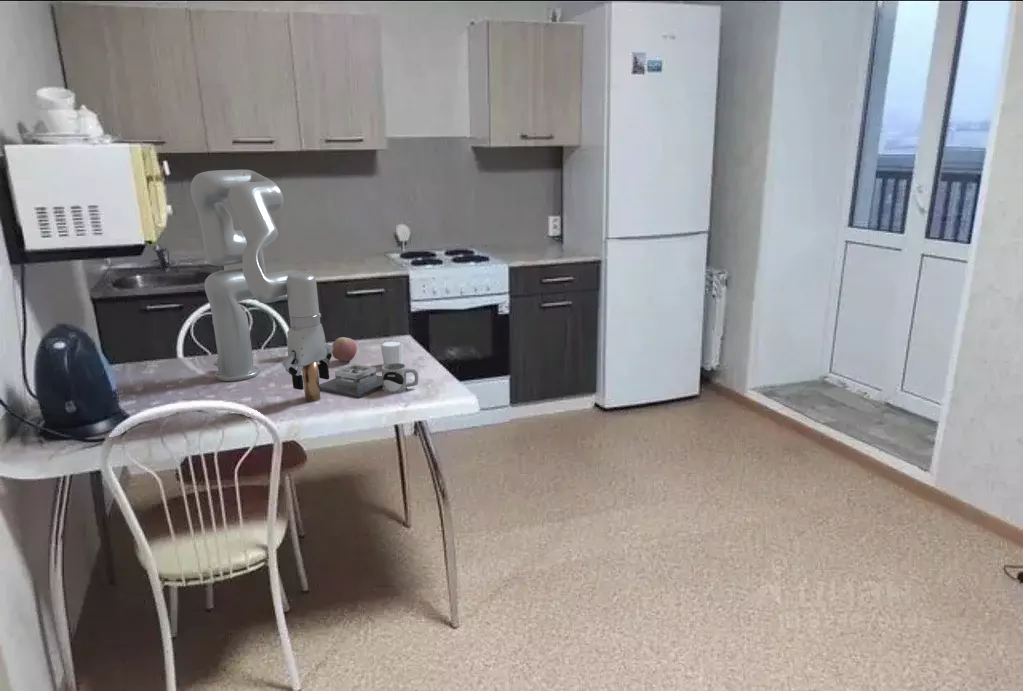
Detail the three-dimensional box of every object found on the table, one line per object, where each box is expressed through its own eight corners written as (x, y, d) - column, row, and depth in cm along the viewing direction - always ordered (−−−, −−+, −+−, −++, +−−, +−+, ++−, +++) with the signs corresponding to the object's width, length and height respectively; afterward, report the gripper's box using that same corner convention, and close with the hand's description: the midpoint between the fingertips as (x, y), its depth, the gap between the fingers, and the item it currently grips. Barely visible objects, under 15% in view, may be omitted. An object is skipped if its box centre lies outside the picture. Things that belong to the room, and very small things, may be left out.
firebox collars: (316, 389, 199) (315, 372, 198) (353, 374, 212) (352, 358, 210) (360, 398, 191) (358, 381, 190) (395, 382, 204) (394, 366, 202)
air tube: (301, 400, 191) (296, 360, 188) (311, 395, 194) (308, 357, 191) (312, 402, 189) (309, 363, 186) (323, 398, 192) (320, 359, 189)
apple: (354, 365, 220) (352, 340, 218) (330, 365, 220) (328, 341, 218) (360, 358, 228) (358, 334, 226) (336, 358, 228) (334, 334, 226)
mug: (381, 393, 195) (379, 370, 193) (384, 385, 201) (383, 363, 199) (417, 392, 195) (416, 369, 193) (420, 384, 201) (418, 362, 200)
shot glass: (405, 361, 223) (404, 340, 221) (403, 368, 216) (401, 346, 214) (383, 362, 223) (382, 340, 221) (380, 369, 216) (379, 347, 214)
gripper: (318, 313, 194) (324, 372, 199) (269, 327, 180) (276, 391, 185) (339, 315, 191) (344, 376, 195) (290, 330, 176) (297, 395, 181)
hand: (311, 383), depth 190 cm, fingers open, 9 cm apart
